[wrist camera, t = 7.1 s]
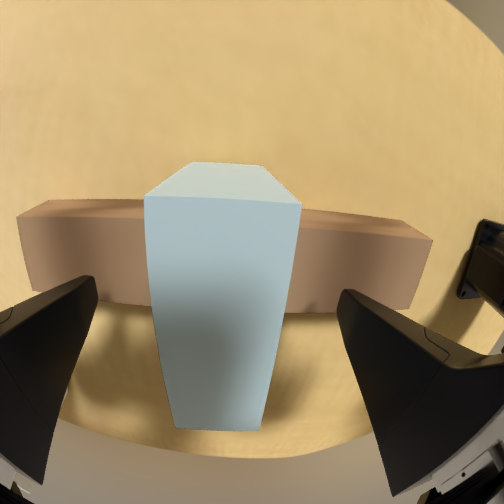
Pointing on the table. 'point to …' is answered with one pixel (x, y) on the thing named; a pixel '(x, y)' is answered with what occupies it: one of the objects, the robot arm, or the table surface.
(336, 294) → the notched board
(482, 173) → the table surface
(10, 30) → the table surface
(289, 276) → the light blue block
